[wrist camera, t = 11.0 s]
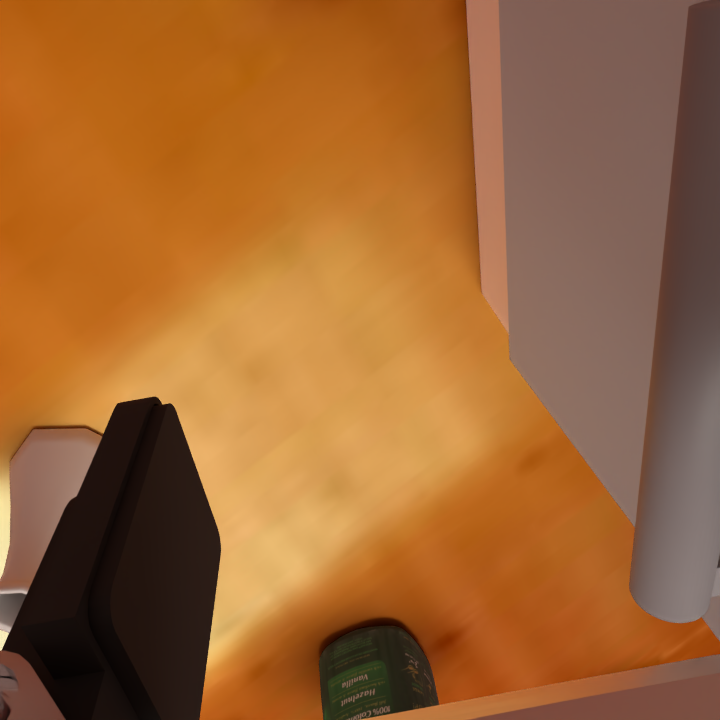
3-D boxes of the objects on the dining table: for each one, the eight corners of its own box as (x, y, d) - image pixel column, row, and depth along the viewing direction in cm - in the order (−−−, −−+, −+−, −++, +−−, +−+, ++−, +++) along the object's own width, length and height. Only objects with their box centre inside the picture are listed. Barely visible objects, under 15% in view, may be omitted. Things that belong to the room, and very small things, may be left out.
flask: (125, 527, 41) (84, 671, 32) (3, 504, 39) (-75, 650, 30) (151, 440, 38) (113, 573, 29) (19, 409, 36) (-63, 543, 27)
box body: (800, 235, 36) (906, 285, 30) (481, 292, 35) (523, 356, 29) (904, -246, 25) (1098, -317, 19) (456, -170, 25) (513, -219, 19)
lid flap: (841, 762, 14) (654, 812, 14) (522, 356, 29) (431, 376, 29) (1683, -1111, 4) (998, -1073, 3) (511, -219, 19) (371, -197, 19)
